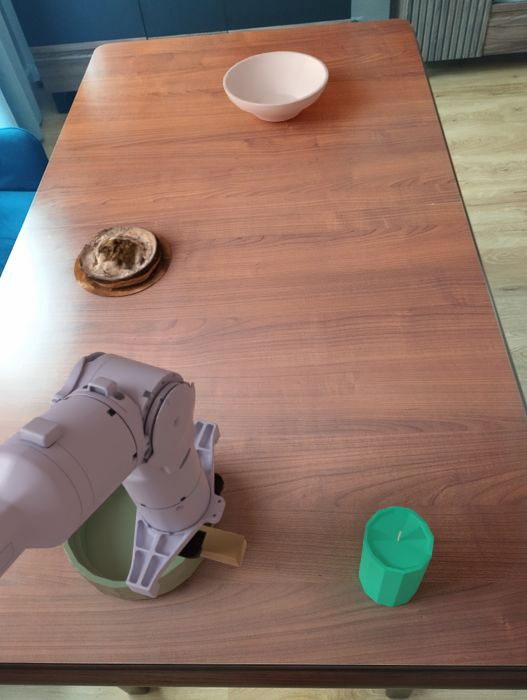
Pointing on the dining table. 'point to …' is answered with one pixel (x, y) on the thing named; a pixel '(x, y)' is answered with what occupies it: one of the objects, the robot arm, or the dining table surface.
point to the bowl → (276, 84)
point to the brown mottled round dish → (122, 261)
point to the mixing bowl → (117, 549)
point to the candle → (394, 555)
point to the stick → (223, 546)
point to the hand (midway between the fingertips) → (195, 537)
